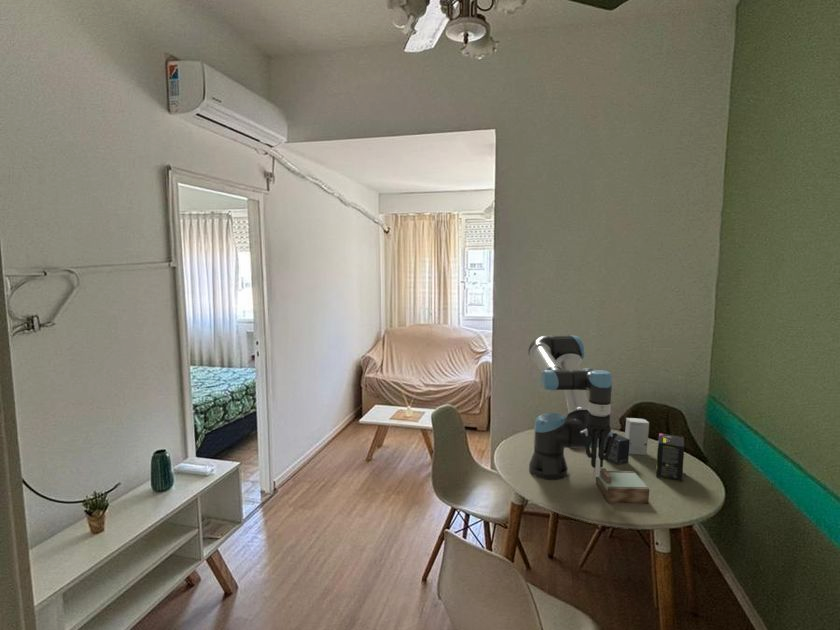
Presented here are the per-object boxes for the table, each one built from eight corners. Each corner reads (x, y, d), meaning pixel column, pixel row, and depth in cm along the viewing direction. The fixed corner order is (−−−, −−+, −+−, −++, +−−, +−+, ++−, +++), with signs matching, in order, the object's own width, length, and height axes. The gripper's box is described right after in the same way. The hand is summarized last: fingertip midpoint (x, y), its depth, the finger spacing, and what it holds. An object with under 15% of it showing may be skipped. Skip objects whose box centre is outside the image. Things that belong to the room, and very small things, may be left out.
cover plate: (607, 490, 170) (607, 479, 170) (597, 475, 181) (597, 465, 181) (647, 491, 170) (648, 480, 169) (634, 476, 181) (635, 466, 180)
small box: (629, 463, 202) (631, 439, 200) (617, 465, 199) (618, 441, 198) (611, 453, 211) (612, 430, 210) (599, 455, 209) (600, 432, 208)
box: (608, 502, 169) (608, 488, 169) (595, 483, 183) (596, 470, 183) (648, 503, 169) (649, 489, 168) (632, 484, 183) (633, 471, 182)
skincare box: (628, 454, 210) (629, 422, 208) (623, 448, 216) (625, 417, 214) (647, 455, 209) (649, 422, 207) (642, 449, 215) (644, 417, 213)
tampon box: (656, 466, 199) (658, 432, 197) (681, 470, 194) (684, 436, 192) (655, 477, 189) (657, 441, 187) (682, 482, 185) (684, 446, 183)
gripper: (583, 416, 169) (581, 479, 172) (621, 417, 168) (618, 480, 171) (578, 409, 177) (575, 470, 179) (614, 410, 176) (611, 471, 179)
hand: (596, 475), depth 175 cm, fingers closed
